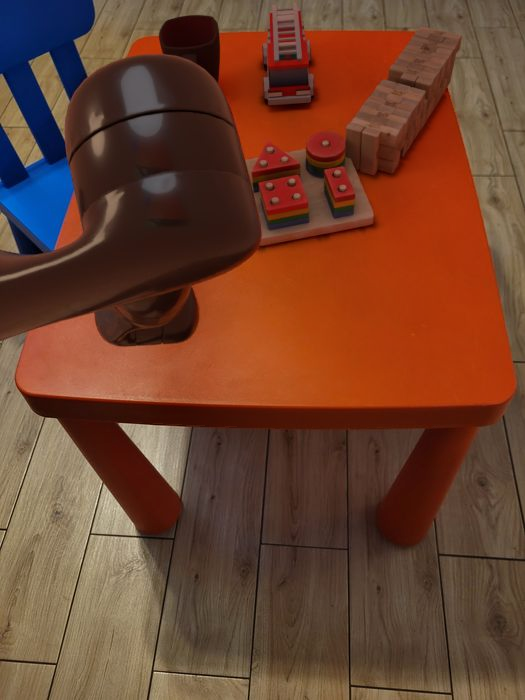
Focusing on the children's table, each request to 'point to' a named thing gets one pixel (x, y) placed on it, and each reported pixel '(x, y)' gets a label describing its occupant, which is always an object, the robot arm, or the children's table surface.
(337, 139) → the shape sorter
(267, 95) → the toy fire truck
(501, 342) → the children's table surface
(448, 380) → the children's table surface
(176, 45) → the cup
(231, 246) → the robot arm
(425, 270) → the children's table surface
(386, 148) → the block tower
